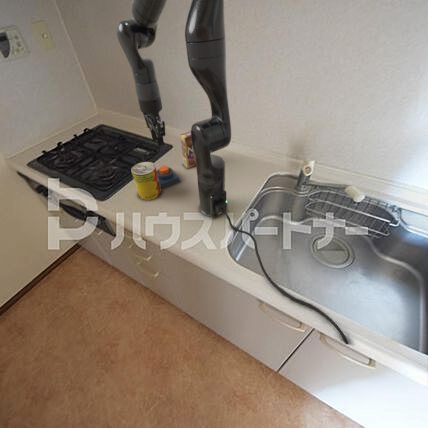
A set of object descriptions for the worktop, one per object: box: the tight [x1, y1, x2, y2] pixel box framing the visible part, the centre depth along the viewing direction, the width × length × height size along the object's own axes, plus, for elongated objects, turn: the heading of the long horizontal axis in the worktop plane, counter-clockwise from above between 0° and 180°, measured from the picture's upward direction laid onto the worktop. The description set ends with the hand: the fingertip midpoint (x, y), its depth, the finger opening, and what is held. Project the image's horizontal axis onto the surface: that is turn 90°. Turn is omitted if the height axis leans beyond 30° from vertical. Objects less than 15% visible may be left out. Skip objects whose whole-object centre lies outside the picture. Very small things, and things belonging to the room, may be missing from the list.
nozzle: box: [158, 165, 170, 175], centre depth 100 cm, size 4×4×2 cm
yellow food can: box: [130, 160, 162, 201], centre depth 93 cm, size 9×9×12 cm
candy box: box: [179, 130, 196, 169], centre depth 105 cm, size 9×4×15 cm, turn 124°
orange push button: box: [156, 167, 180, 189], centre depth 102 cm, size 10×8×4 cm
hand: (158, 142), depth 91 cm, fingers open, 4 cm apart
